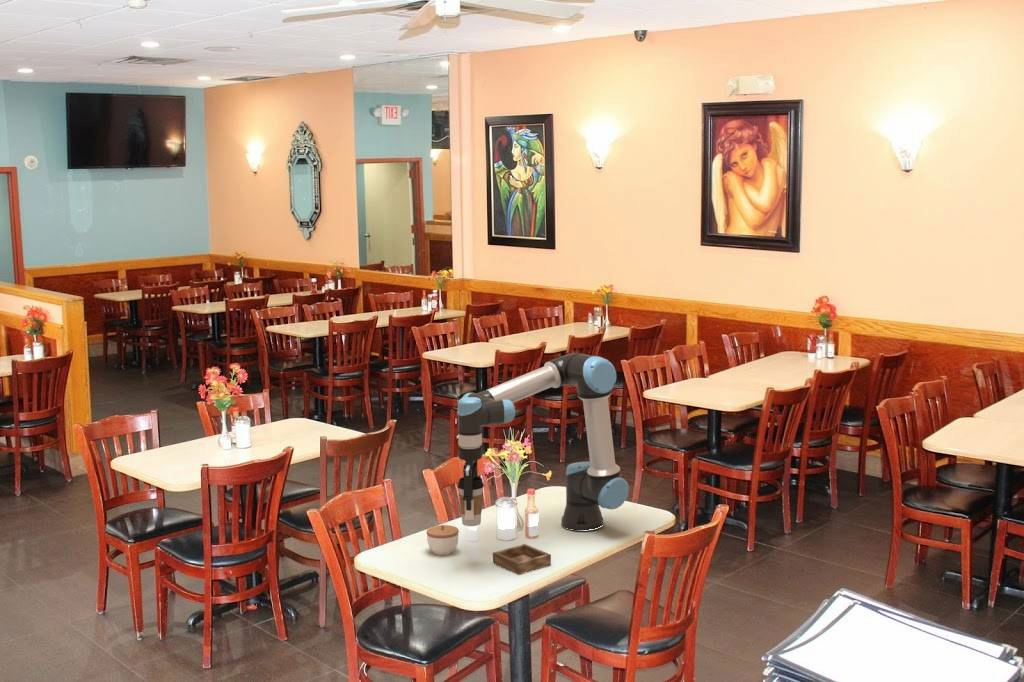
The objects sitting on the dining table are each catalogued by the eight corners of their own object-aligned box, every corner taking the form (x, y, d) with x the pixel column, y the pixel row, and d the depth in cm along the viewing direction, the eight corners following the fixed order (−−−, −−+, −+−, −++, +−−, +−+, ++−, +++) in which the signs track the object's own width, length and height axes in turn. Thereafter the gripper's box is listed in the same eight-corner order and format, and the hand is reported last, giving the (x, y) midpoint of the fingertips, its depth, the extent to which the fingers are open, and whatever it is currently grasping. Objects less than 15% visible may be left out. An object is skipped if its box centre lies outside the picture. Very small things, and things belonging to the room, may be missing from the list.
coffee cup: (461, 528, 333) (460, 483, 331) (455, 520, 341) (454, 476, 339) (487, 526, 335) (486, 480, 333) (480, 518, 344) (480, 473, 341)
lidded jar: (457, 557, 348) (456, 530, 346) (425, 557, 348) (424, 530, 347) (460, 546, 358) (460, 520, 357) (429, 546, 359) (428, 520, 358)
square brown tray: (524, 554, 350) (524, 543, 350) (550, 565, 340) (550, 554, 339) (492, 563, 342) (492, 552, 342) (518, 574, 332) (518, 563, 331)
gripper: (463, 438, 345) (465, 505, 348) (452, 454, 325) (454, 525, 328) (486, 438, 344) (487, 506, 348) (476, 454, 324) (478, 525, 327)
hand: (471, 515), depth 338 cm, fingers closed on coffee cup, 8 cm apart
